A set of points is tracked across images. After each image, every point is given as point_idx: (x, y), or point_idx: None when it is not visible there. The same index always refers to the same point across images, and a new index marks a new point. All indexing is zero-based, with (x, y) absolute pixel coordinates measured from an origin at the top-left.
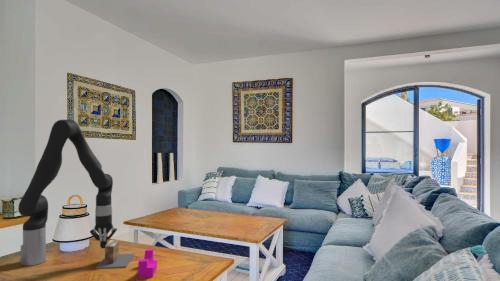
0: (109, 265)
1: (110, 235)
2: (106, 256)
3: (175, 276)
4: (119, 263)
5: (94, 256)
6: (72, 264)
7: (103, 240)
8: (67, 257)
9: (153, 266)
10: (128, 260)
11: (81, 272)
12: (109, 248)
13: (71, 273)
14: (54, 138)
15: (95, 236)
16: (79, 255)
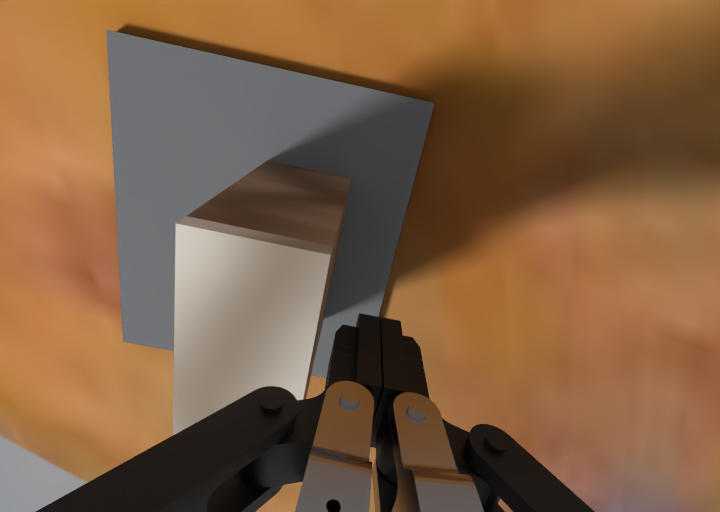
0: (295, 117)
1: (199, 457)
2: (326, 195)
3: None
4: (201, 138)
5: (462, 398)
6: (635, 294)
7: (371, 394)
8: (661, 440)
9: None
10: (128, 190)
11: (565, 56)
12: (264, 221)
13: (662, 65)
14: None
15: (553, 506)
16: (574, 449)
